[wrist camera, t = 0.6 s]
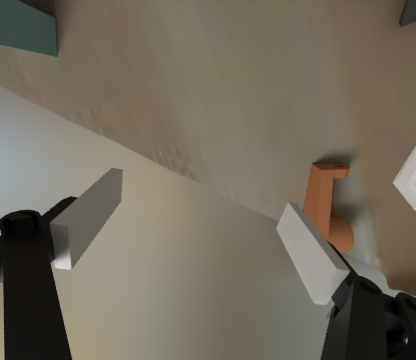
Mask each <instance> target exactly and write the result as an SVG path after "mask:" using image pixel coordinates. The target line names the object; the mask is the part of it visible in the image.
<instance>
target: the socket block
mask: <svg viewBox="0 0 416 360" xmlns="http://www.w3.org/2000/svg"><path fill="white" fill-rule="evenodd" d="M0 44H1V45H5V46H10V47H14V48H19V49H23V50H28V51H33V52H37V53H42V54H46V55H51V56H55V57H57V44H56V21H55V18H54V17H52V16H50V15H48V14H45V13H43V12H41V11H39V10H37V9H35V8H33V7H31V6H29V5H27V4H25V3H22V2H20V1H18V0H0Z"/></svg>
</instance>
